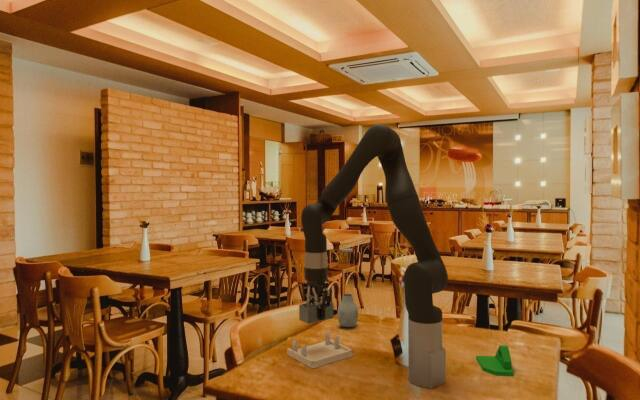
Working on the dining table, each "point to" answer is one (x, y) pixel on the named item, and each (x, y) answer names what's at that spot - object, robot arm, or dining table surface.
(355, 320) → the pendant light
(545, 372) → the dining table surface
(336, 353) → the tray
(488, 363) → the bracket
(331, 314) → the block
